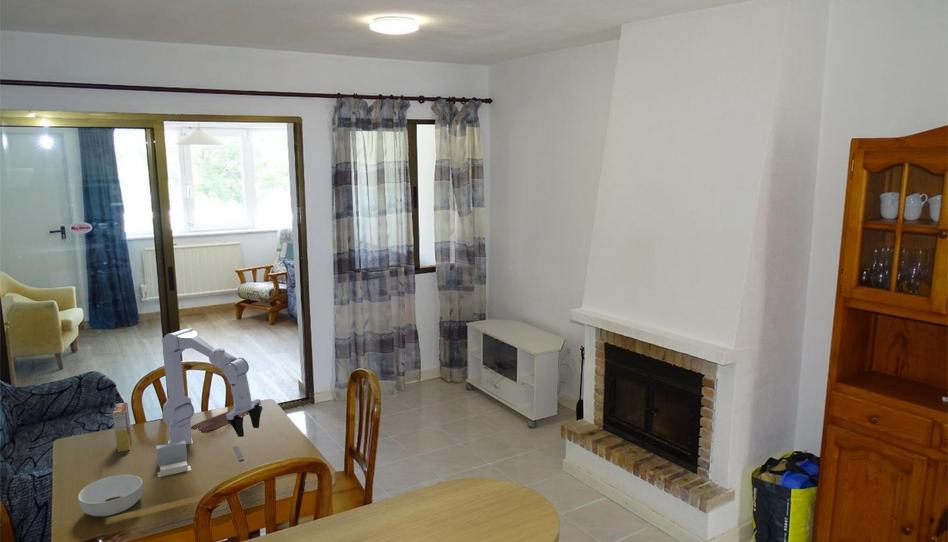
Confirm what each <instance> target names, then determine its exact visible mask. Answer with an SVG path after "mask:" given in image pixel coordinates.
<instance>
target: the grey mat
mask: <svg viewBox="0 0 948 542" xmlns="http://www.w3.org/2000/svg"><path fill="white" fill-rule="evenodd" d="M232 449H233V451H234V453H235V456H236V458H237V460H238V461H239V462H242V461H245V459H244V457H243V455H242V452H241V449H240V448H239V445H235V446H232Z"/></svg>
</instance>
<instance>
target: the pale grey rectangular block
mask: <svg viewBox="0 0 948 542" xmlns="http://www.w3.org/2000/svg"><path fill="white" fill-rule="evenodd" d="M155 449H156V461H157V467H158V468H160V466H165V465H170V464H175V463H179V462H184V461H186V462H188V454H187V453H188V452H187V445H186V442H185V441H180V442H175V443H169V444H168V443H166V444H160V445H155Z"/></svg>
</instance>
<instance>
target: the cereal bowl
mask: <svg viewBox="0 0 948 542" xmlns="http://www.w3.org/2000/svg"><path fill="white" fill-rule="evenodd" d="M143 491H144V483H143V479H142V477H139V476H137V475H135V474H134V475H133V474H117V475H113V476H107V477H105V478H101V479H99V480H95V481H93V482H91V483H90V484H88V485H86V486H85V487H83V488H82V489H81V490H80V492H79V493H78V495H77V500H78V504H79V507H80V509H81V510H82V511H83V513H85V514H87V515H89V516H94V517H108V516H109V517H110V516H112V517H113V516H115V515H117V514H119V513H123V512H124V511H127V510H128V509H129V508H131V507H133V506H134V505H135V504H136V503H137V502H138V501H139V500H140V499H141V496H142V495H143ZM118 497H119V498H118ZM113 498H115V499H113ZM109 499H111V500H109ZM107 500H108V501H107Z"/></svg>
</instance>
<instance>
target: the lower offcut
mask: <svg viewBox="0 0 948 542" xmlns="http://www.w3.org/2000/svg"><path fill="white" fill-rule="evenodd" d="M187 471H192V468H191V465H188V470H187ZM187 471H186V472H187ZM183 472H185V471H182V472H181V473H183ZM178 473H179V474H180V472H178ZM178 473H177V474H178ZM174 474H175V475H176V473H173V474H172V475H174ZM156 475H157V478H160V477H162V476H161V473H160V471H158V472H157V473H156ZM170 475H171V474H169V475H168V476H170ZM163 477H167V475H164V476H163Z"/></svg>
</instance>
